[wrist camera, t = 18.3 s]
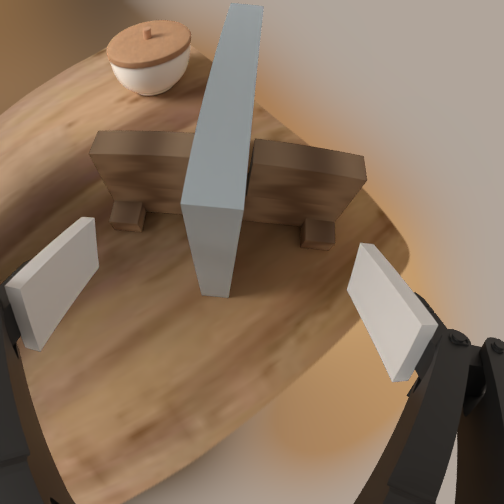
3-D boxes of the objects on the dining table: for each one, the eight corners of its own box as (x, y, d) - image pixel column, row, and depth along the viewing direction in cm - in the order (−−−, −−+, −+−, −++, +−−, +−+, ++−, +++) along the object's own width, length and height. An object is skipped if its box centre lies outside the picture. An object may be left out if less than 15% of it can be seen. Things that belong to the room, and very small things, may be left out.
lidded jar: (102, 94, 36) (86, 43, 28) (152, 54, 40) (145, 6, 31) (158, 117, 36) (148, 60, 27) (207, 72, 39) (208, 19, 30)
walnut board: (114, 229, 30) (79, 178, 21) (129, 172, 33) (106, 111, 23) (328, 250, 32) (370, 206, 22) (326, 191, 34) (360, 135, 25)
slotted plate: (228, 297, 29) (243, 209, 12) (201, 295, 29) (180, 203, 12) (243, 142, 35) (263, 6, 18) (222, 140, 35) (230, 3, 18)
